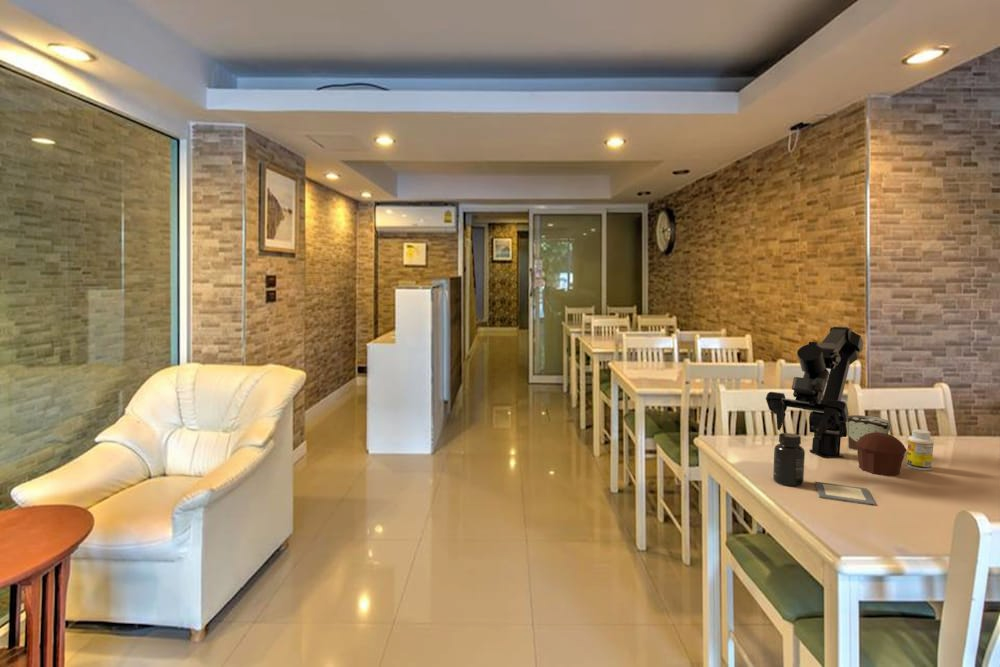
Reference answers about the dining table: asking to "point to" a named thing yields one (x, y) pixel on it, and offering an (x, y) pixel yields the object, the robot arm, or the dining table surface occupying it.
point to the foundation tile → (844, 493)
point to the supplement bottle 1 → (789, 460)
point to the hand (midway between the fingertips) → (797, 432)
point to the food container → (864, 427)
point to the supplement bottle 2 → (920, 450)
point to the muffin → (880, 454)
